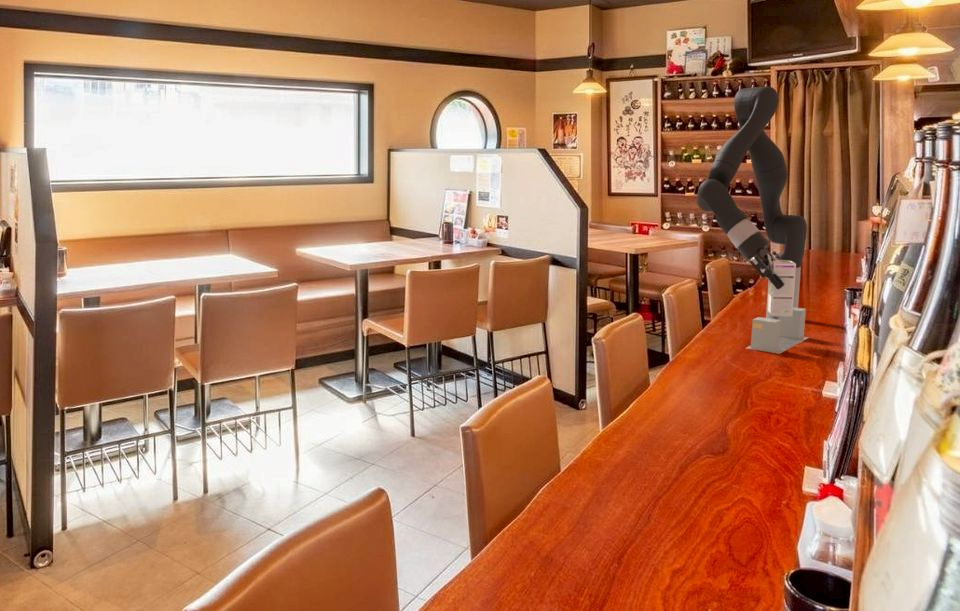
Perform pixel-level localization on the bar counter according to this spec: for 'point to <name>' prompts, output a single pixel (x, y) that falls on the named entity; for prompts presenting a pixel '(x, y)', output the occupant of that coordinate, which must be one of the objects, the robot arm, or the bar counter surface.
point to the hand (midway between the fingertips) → (787, 285)
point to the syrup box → (782, 289)
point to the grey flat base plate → (786, 343)
